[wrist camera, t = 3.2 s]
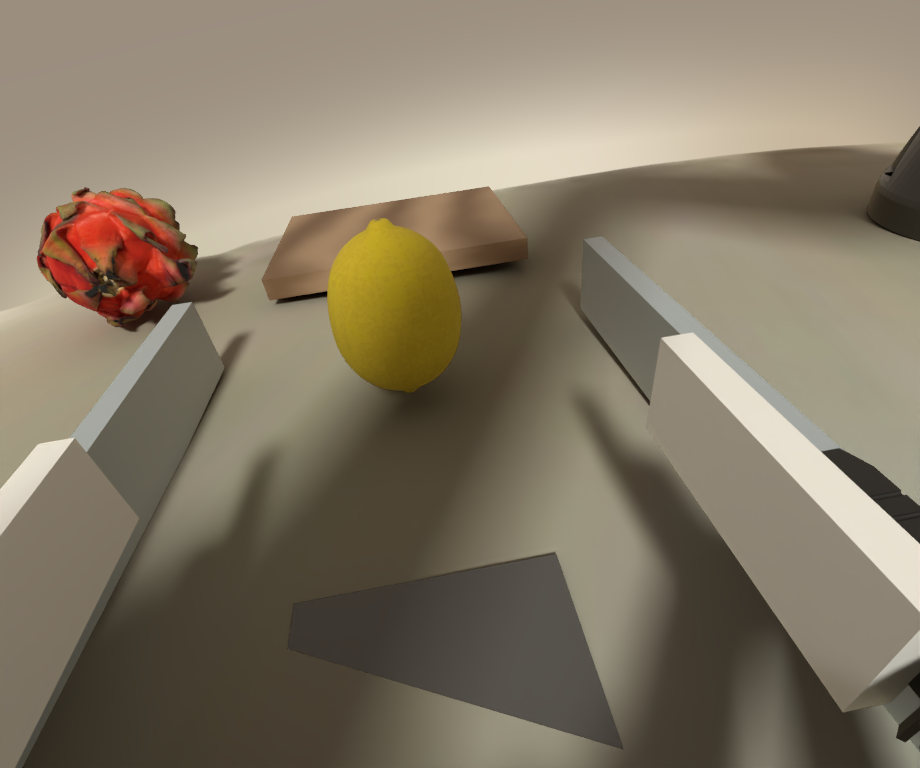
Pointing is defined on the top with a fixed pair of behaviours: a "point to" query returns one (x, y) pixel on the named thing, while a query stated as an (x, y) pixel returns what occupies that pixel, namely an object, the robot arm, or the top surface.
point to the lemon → (394, 307)
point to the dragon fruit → (116, 253)
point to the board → (434, 217)
